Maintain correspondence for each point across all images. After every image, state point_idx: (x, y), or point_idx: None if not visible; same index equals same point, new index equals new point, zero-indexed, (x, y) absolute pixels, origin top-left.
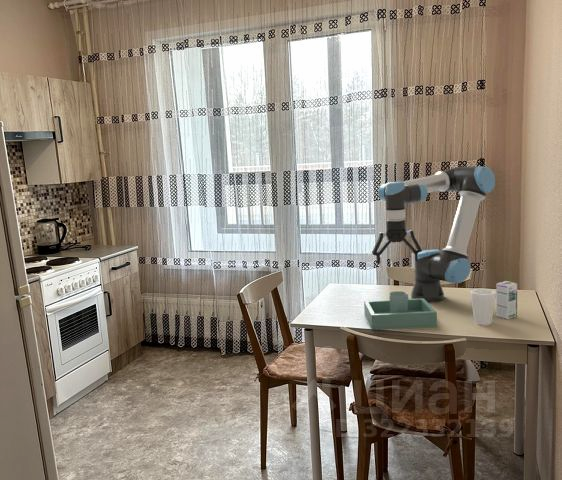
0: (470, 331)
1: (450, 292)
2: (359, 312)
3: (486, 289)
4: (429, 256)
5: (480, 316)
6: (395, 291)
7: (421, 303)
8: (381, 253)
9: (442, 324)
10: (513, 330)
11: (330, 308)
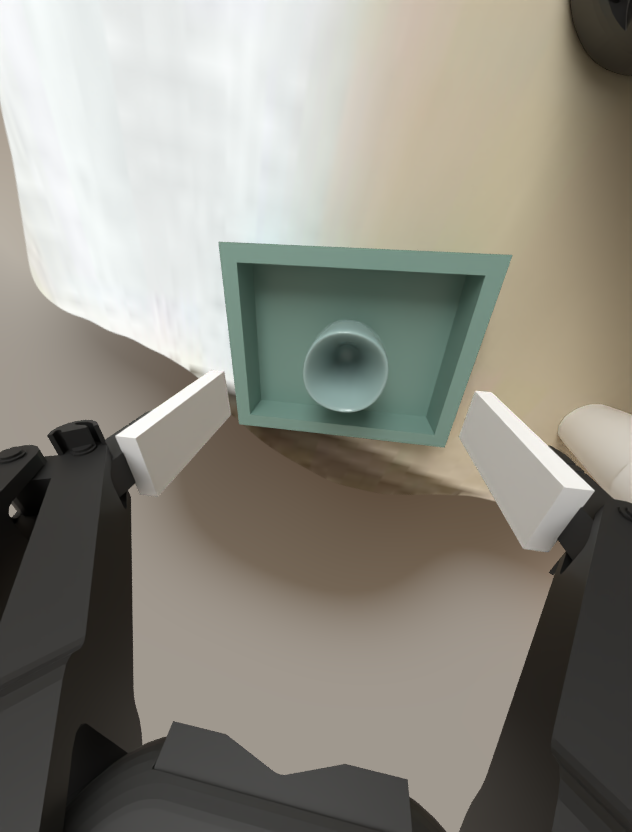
0: None
1: None
2: (224, 214)
3: None
4: None
5: (577, 458)
6: (341, 334)
7: (474, 286)
8: (127, 521)
9: (458, 410)
10: None
11: (94, 110)
